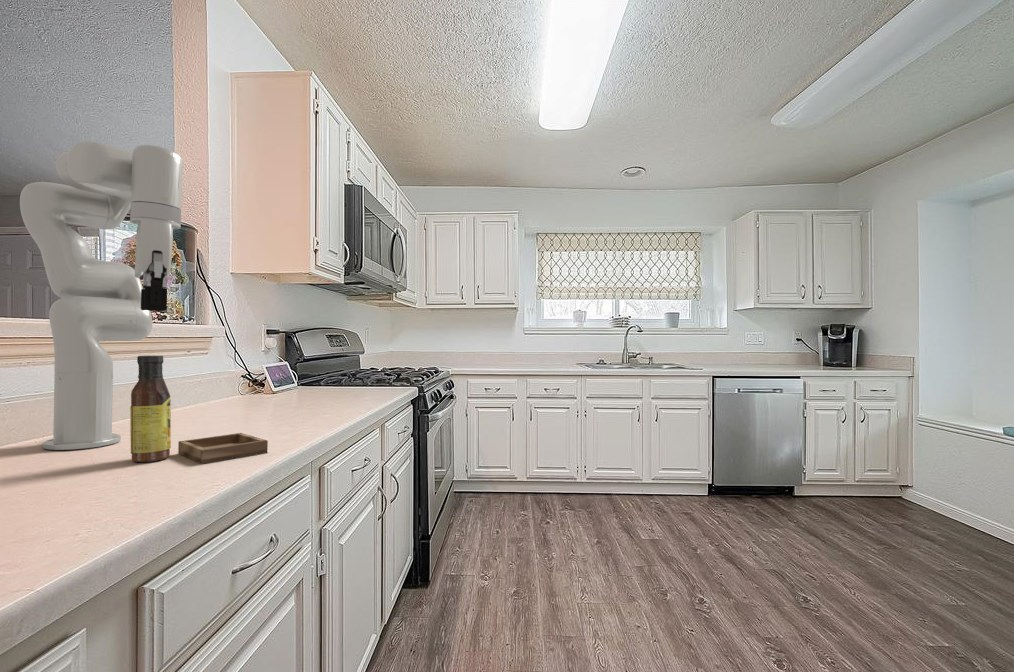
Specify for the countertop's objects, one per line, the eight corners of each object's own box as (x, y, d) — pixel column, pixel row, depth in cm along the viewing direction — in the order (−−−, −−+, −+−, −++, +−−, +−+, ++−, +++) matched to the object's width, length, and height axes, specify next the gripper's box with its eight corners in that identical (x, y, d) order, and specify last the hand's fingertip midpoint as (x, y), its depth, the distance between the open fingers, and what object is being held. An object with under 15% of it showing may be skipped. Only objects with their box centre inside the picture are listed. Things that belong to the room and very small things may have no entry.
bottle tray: (178, 453, 98) (178, 441, 98) (240, 444, 108) (241, 432, 108) (202, 464, 91) (202, 450, 91) (267, 452, 100) (267, 440, 100)
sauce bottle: (176, 458, 95) (178, 355, 95) (138, 465, 90) (140, 356, 90) (160, 453, 98) (162, 354, 98) (123, 460, 93) (125, 355, 93)
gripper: (128, 220, 95) (125, 309, 95) (132, 205, 81) (129, 309, 81) (175, 226, 99) (172, 311, 100) (186, 213, 86) (183, 311, 86)
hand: (153, 310), depth 90 cm, fingers open, 9 cm apart
